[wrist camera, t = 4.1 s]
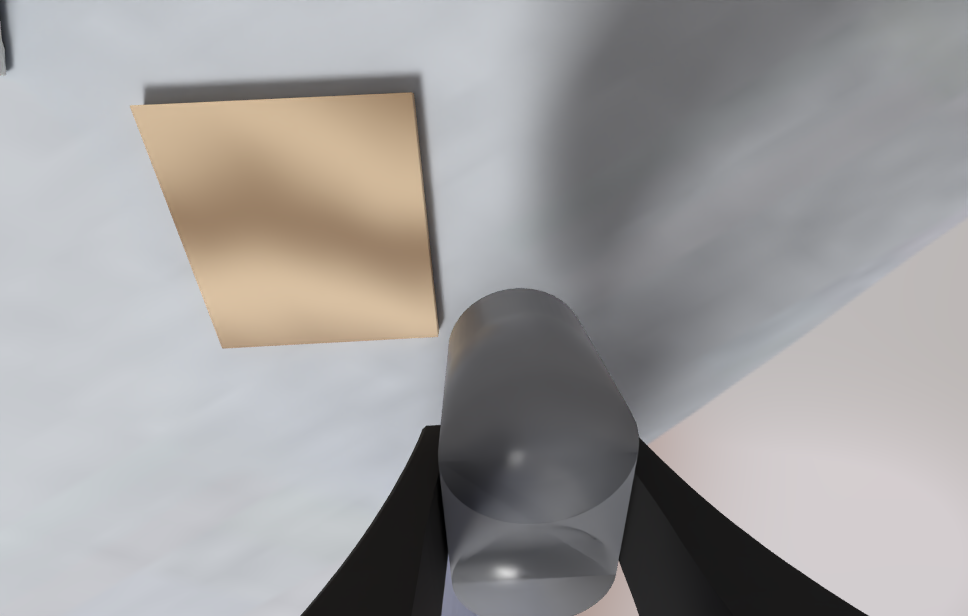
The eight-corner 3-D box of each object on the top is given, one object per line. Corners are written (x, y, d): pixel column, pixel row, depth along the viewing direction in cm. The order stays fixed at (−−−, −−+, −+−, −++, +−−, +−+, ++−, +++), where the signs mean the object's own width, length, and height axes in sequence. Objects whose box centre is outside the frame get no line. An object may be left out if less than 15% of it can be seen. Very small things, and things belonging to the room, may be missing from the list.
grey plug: (567, 535, 15) (599, 667, 11) (463, 541, 15) (462, 674, 11) (590, 285, 11) (653, 367, 7) (443, 291, 10) (429, 378, 7)
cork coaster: (438, 330, 19) (437, 336, 18) (229, 342, 19) (222, 348, 18) (414, 93, 14) (411, 92, 14) (142, 106, 14) (129, 105, 14)
